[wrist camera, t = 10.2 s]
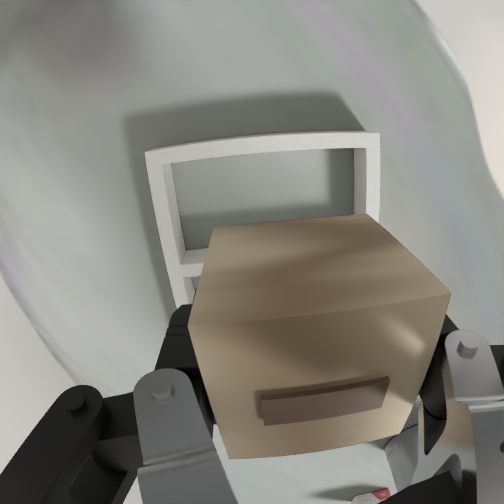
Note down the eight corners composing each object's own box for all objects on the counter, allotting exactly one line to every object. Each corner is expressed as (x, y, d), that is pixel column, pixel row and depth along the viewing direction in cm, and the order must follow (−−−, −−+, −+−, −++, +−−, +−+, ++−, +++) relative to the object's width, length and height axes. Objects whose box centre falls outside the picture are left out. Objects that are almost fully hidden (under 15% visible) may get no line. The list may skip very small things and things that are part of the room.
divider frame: (365, 130, 20) (379, 132, 18) (348, 380, 30) (354, 397, 28) (155, 148, 20) (144, 152, 18) (210, 395, 30) (208, 412, 28)
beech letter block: (367, 214, 10) (454, 296, 5) (357, 333, 12) (401, 437, 7) (213, 227, 10) (186, 330, 5) (233, 347, 12) (229, 463, 7)
